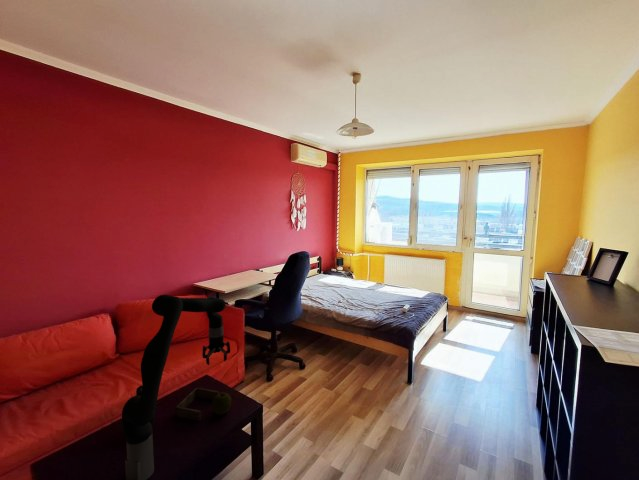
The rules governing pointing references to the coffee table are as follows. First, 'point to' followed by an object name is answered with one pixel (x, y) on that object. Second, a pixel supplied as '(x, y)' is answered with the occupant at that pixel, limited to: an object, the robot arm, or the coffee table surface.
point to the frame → (197, 392)
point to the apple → (221, 403)
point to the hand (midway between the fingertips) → (216, 362)
